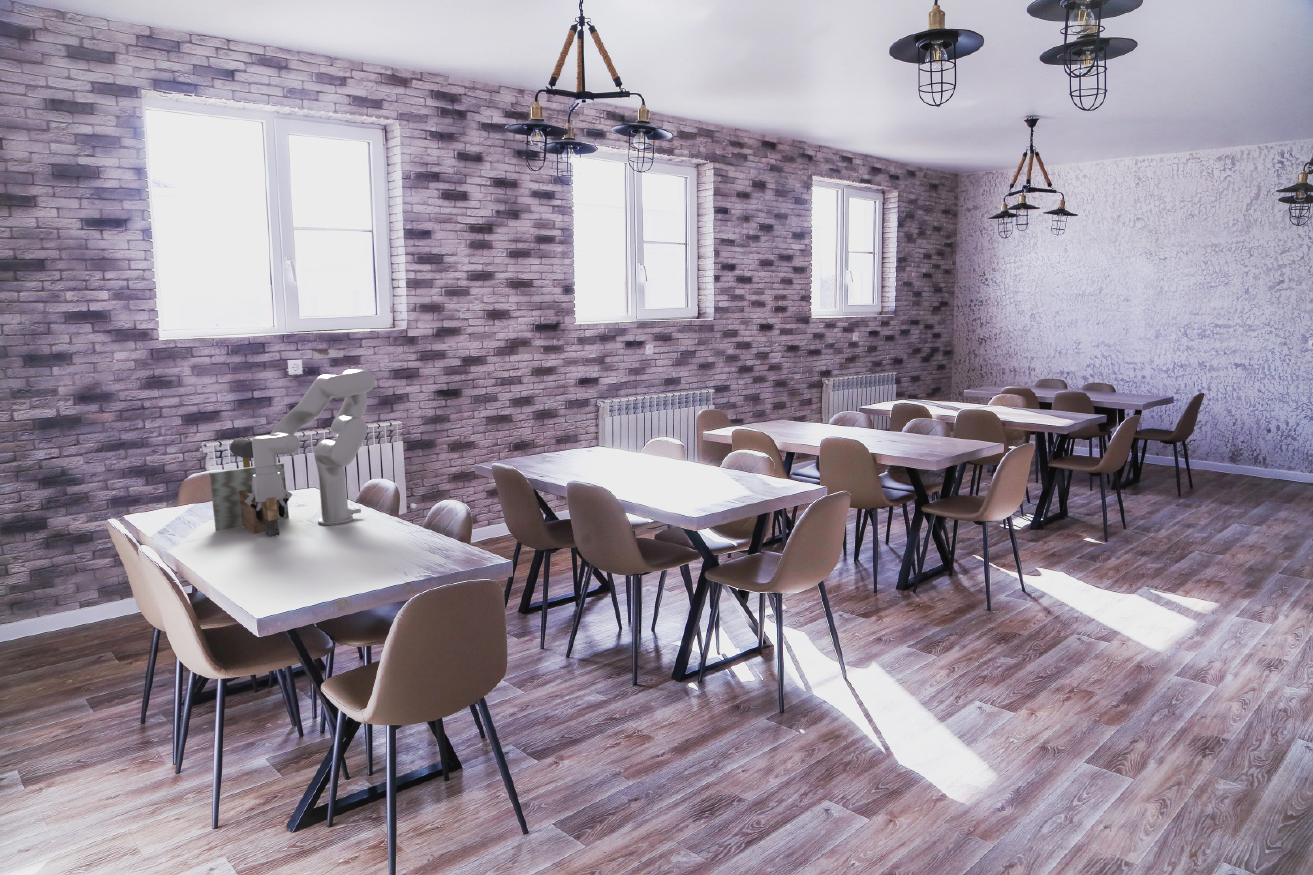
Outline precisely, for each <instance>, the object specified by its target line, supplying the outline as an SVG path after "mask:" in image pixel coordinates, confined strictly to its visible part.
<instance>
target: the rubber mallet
mask: <svg viewBox="0 0 1313 875" xmlns="http://www.w3.org/2000/svg"><path fill="white" fill-rule="evenodd" d="M229 450H230V452H231V454H233V455H234V456H236V457H240V458H242V466H243V467H242V468H247V467H251V462H250V459H254V458H253V448H252V440H250V439H245V438H238V439H234V440H233V441H232V442H231V443H230V447H229Z"/></svg>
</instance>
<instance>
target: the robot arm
mask: <svg viewBox="0 0 1313 875" xmlns="http://www.w3.org/2000/svg"><path fill="white" fill-rule="evenodd" d="M375 385H376V378H375V375H374V374H373V373H372V372H371V371H368V370H366V369H355V368H352V369H351V368H350V369H347V370H344V371H343V372H342V374H338V375H337V374H321V375H319V376H318V377H317V378H315V380H314V381H313V383H312V384H311V385H310V387H309V388H308V390H307V391H306V392H305V394H304V395H303V396H302V397H301V400H299V402H298V403H297V405H295V406H294V407H293V408H292V409H290V410H289V412H287V413H286V414H285V415H284V416H283V417H282V418H281V419H280V420H278V422H277V424H276V425H275V426H274V428H273V429H272V431H271V432H270V434H269V435H260V436H259V435H258V436H255V437H253V438H252V440H251V441H252V448H253V458H252V459H253V465H254V466H253V467H254V468H255V475H253V477H252V494H251V495H250V496H249V497H248V498H247V499H246V500H245V502H246V503H247V504H248V505H249V506H251V507H252V508H254V509H255V511H256V519H258V520H259V521H262V511H261V510H260V507H261V505H262V503H264V502H266V499H268V498H274V497H276V501H278V503H279V506H278V509H279V516H280V517H284V514H285V508H284V506H285V505H286V503H288V502H289V500H290V499H291V497H293V493H292V492H289V491H288V490H287V489H286V490H285V489H284V487H283V482H282V478H281V475H280V472H278V470H279V469H282V466H281V465H278V464H277V463H278V459H277V458H278V457H277V455H292V454H294V453H296V452H298V451H299V449H300V447H301V441H300V438H299V437H298V436H297V435H295V434H296V433H297V432H298V431H299V430H300V429H301V428H302V427H304V426H305V425H307V424H310V423H312V422H314V421H315V420H317V419H318V418H319V417H320V415H321V414H322V413H323V411H324V410H325V408H326V407H327V405H328V404H329V403H330V401H331V400H332V399H341V398H344V400H343V403H342V405H341V407H340V409H339V410H338V412H337V413H336V416H335V418H334V419H333V421H332V424H331V425H330V432H331V434H332V436H333V437H334V438H336V439H323V440H322V441H319V443H317V444H316V446H315V448H314V453H313V454H314V462H315V465H316V469H317V474H318V486H319V494H320V495H319V497H320V506H321V517H320V518H319V519H317V524H319V525H323V526H336V525H343V524H347V523H349V522H352V521H353V520H354V516H353V515H354V514H355V515H356V514H360V513H362V509H361V507H356V508H355V507H353V508H351V507H349V506H348V505H349V504H348V492H347V480H346V472H345V467H347V466H349V465H350V464H351V463H352V462H353V461H354V460H355V458H356V456H357V453H358V452H359V450H360V448H361V447H362V445H363V442H364V441H365V439H366V436H367V434H368V426H367V423H366V421H365V420H364V418H363V417H364V414H365V412H366V410H367V406H368V395H367V393H368V392H370V391H372V390H373V389H374V387H375ZM284 493H285V494H286V497H285V498H284V496H285V494H284ZM283 498H284V499H283ZM252 499H253V501H256V503H255V505H254V504H253V503H252V502H251V500H252ZM282 499H283V500H282Z"/></svg>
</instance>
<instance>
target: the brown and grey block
mask: <svg viewBox="0 0 1313 875" xmlns="http://www.w3.org/2000/svg"><path fill="white" fill-rule="evenodd" d="M263 512H264V522H265V532H264V533H265V535H266V536H268V537H269V538H273V537H276V535H278V536H280V526H279V520H278V514H277V504H276V497H274V498H268V499H266V502H264V503H263ZM272 536H273V537H272Z"/></svg>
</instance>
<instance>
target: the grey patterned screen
mask: <svg viewBox="0 0 1313 875" xmlns="http://www.w3.org/2000/svg"><path fill="white" fill-rule="evenodd" d="M277 464H278V465H281V466H282V469H279V470H278V472H280V475H281V478H282V482H283V487H284V489H285V490H287V485H286V482H287V481H286V475H285V474H286V472H285V463H284V462H277ZM253 475H255V468H254V466H250V467H247V468H243V467H241V468H234V469H232V468H231V469H226V470H220V471H219V470H218V471H211V472H209V483H210V491H211V492H210V493H211V502H212V510H213V519H214V521H213V522H214V527H215V528H214V529H215V531H216V532H222V531H226V530H227V531H228V530H232V529H233V530H234V529H238V528H244V529H246V530H248V531H250V532H251V531H252V532H251V533H253V534H258V533H266V532H265V522H264V512H263V503H262V505H261V507H260V510H261V511H262V521H259V520H258V519H256V511H255V509H254V508H252V507H251V506H249V505H248V504H247V503H246V502H245V500H246V499H247V498H248V497H249V496H250V495H251V494H252V477H253ZM284 494H285V493H284ZM285 497H286V494H285V496H284V498H285ZM284 498H283V499H284ZM283 499H282V500H283ZM251 502H252V503H253V504H254V505H255V503H256V501H253V499H252V500H251ZM276 504H277V514H278V521H282V520H283V519H284V520H288V519H287V518H290V514H289V505H288V504H289V503H288V502H287V503H286V505H285V506H284V508H285V514H284V517H280V516H279V509H278V506H279V503H278V501H276Z"/></svg>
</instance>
